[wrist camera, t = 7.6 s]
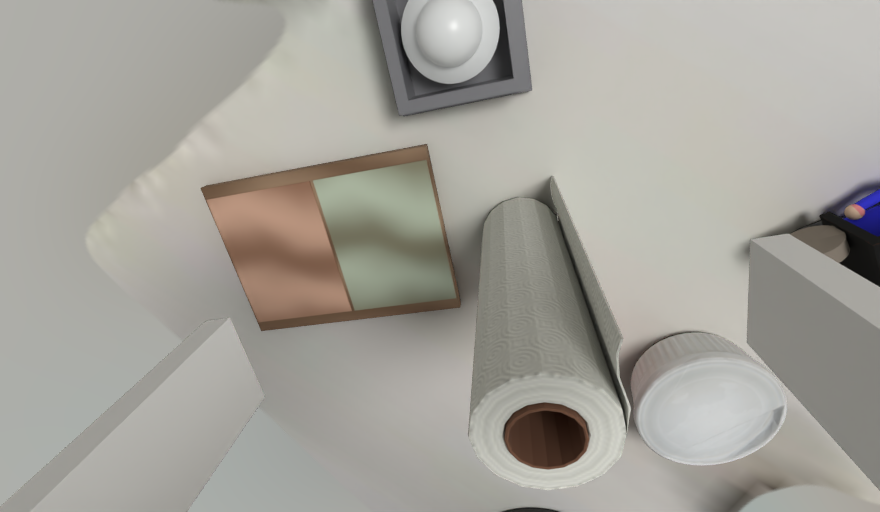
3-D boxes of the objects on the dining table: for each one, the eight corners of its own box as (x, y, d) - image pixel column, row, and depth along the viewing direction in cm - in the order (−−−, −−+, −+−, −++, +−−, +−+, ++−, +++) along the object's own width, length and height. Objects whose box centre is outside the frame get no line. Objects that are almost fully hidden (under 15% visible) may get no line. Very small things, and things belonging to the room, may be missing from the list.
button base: (531, 89, 32) (535, 94, 28) (405, 114, 34) (394, 123, 30) (513, -65, 28) (515, -81, 25) (373, -28, 30) (356, -38, 27)
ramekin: (710, 434, 43) (737, 483, 38) (599, 400, 43) (611, 445, 38) (781, 342, 38) (822, 385, 34) (656, 304, 38) (678, 341, 33)
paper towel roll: (503, 276, 38) (510, 510, 19) (469, 216, 37) (438, 410, 17) (585, 240, 36) (685, 462, 17) (553, 174, 34) (624, 341, 15)
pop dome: (505, 70, 30) (507, 75, 26) (419, 89, 32) (406, 96, 27) (491, -33, 28) (490, -46, 24) (398, -9, 29) (381, -18, 25)
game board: (460, 302, 40) (460, 308, 39) (265, 326, 43) (261, 331, 43) (426, 143, 34) (425, 146, 34) (206, 185, 38) (199, 188, 37)
